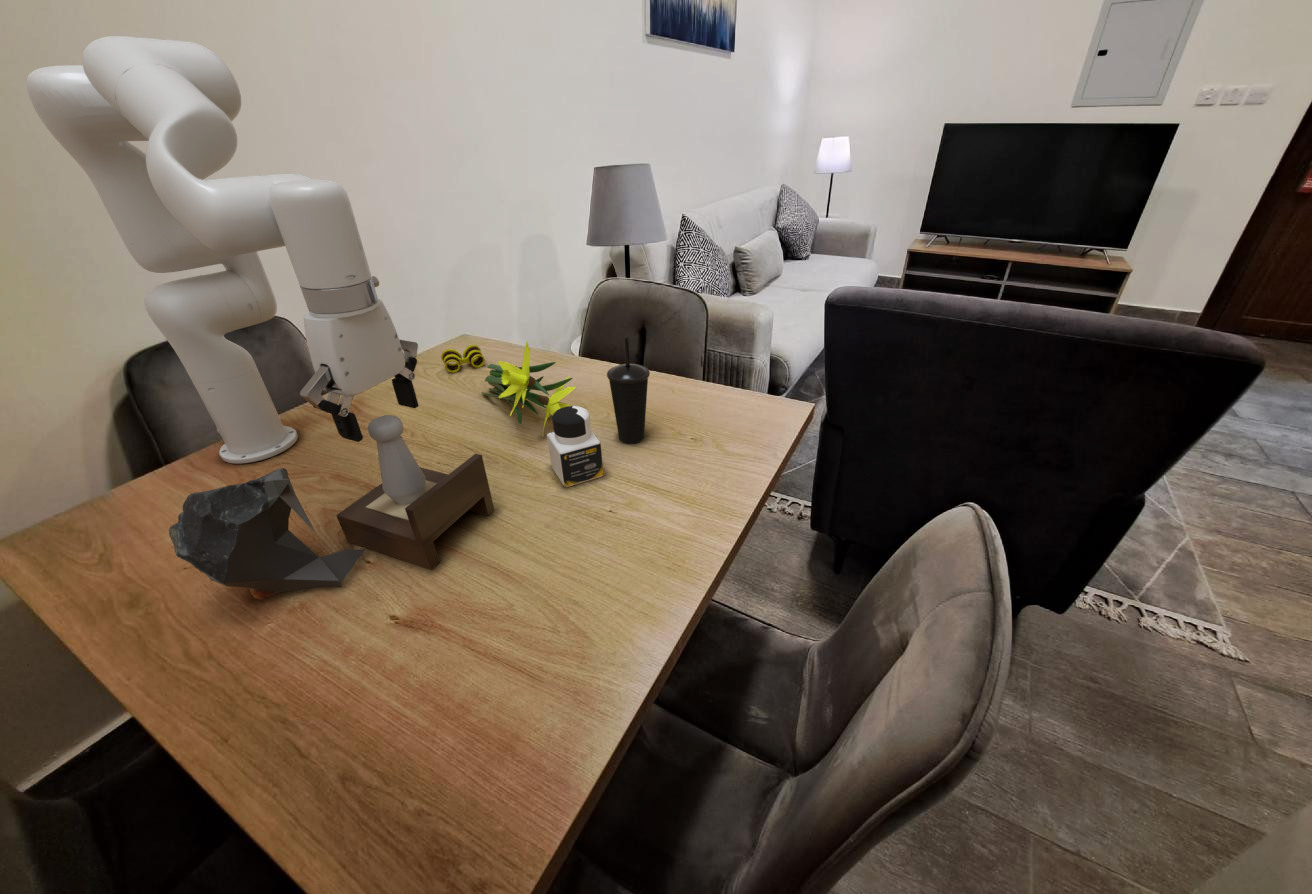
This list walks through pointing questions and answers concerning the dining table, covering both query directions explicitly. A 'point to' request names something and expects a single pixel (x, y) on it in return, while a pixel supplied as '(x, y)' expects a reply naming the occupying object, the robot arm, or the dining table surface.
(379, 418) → the salt shaker
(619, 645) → the dining table surface
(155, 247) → the robot arm
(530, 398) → the daffodil flowers
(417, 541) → the dark wooden box
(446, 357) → the opera glasses
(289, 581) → the dark grey irregular lump
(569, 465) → the medicine bottle
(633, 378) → the drinking cup
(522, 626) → the dining table surface
